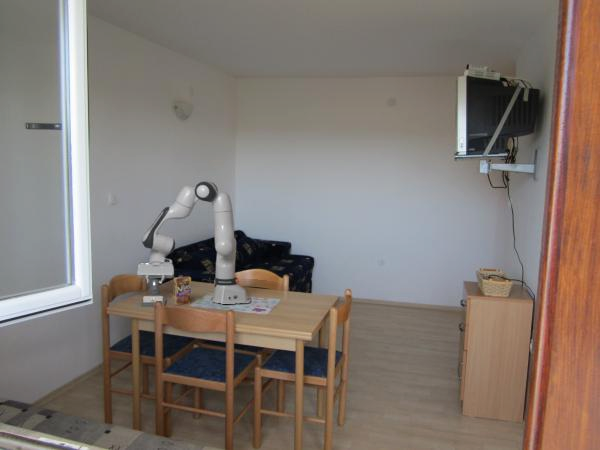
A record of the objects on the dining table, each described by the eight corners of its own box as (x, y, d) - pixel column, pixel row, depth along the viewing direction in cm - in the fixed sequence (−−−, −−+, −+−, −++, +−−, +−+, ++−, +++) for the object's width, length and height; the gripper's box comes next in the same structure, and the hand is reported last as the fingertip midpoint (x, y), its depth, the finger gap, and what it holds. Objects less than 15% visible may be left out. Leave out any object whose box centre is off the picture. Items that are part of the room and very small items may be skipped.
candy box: (175, 305, 255) (175, 278, 254) (172, 303, 259) (173, 277, 257) (190, 303, 260) (191, 277, 259) (188, 302, 264) (188, 275, 262)
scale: (166, 300, 264) (166, 291, 264) (164, 306, 252) (164, 297, 251) (144, 301, 262) (144, 291, 261) (141, 307, 250) (141, 297, 249)
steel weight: (159, 292, 261) (159, 278, 260) (158, 294, 256) (158, 280, 255) (150, 292, 260) (150, 278, 259) (149, 294, 255) (149, 280, 254)
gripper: (137, 259, 261) (134, 280, 252) (174, 260, 265) (172, 280, 256) (138, 266, 266) (135, 286, 257) (175, 266, 270) (173, 286, 261)
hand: (154, 283), depth 257 cm, fingers closed on steel weight, 5 cm apart
